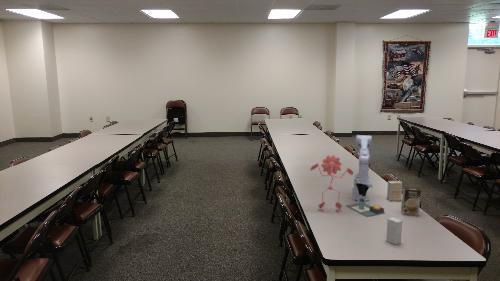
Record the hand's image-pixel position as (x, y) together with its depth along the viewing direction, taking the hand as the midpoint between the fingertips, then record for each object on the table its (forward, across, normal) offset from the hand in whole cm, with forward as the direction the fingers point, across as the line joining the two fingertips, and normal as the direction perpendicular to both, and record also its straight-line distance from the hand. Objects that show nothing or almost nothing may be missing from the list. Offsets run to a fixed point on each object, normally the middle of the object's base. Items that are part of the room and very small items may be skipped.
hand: (362, 195), depth 231 cm
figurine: (+10, -9, -18) cm, 22 cm away
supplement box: (+10, -5, +32) cm, 34 cm away
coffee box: (+10, +17, +23) cm, 30 cm away
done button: (+8, +8, +6) cm, 12 cm away
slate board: (+9, +1, +2) cm, 10 cm away
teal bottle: (+9, 0, 0) cm, 9 cm away
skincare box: (+10, +42, -15) cm, 46 cm away
